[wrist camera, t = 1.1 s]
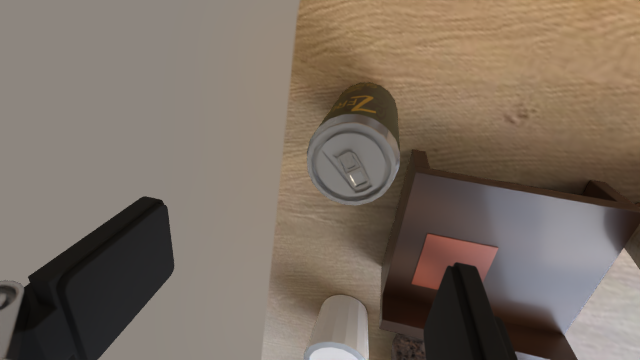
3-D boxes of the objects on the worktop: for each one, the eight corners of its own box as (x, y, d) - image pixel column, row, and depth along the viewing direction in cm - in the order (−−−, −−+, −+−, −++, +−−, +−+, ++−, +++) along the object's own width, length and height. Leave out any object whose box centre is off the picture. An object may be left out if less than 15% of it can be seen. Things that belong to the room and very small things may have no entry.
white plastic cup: (384, 313, 38) (383, 370, 32) (348, 339, 41) (341, 395, 35) (339, 281, 37) (328, 332, 31) (305, 310, 41) (290, 362, 34)
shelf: (412, 149, 29) (418, 190, 22) (605, 182, 27) (681, 238, 20) (381, 267, 35) (379, 328, 28) (536, 301, 33) (574, 376, 26)
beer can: (407, 125, 28) (417, 187, 18) (353, 150, 30) (332, 221, 20) (380, 68, 27) (372, 100, 16) (324, 99, 29) (285, 145, 18)
